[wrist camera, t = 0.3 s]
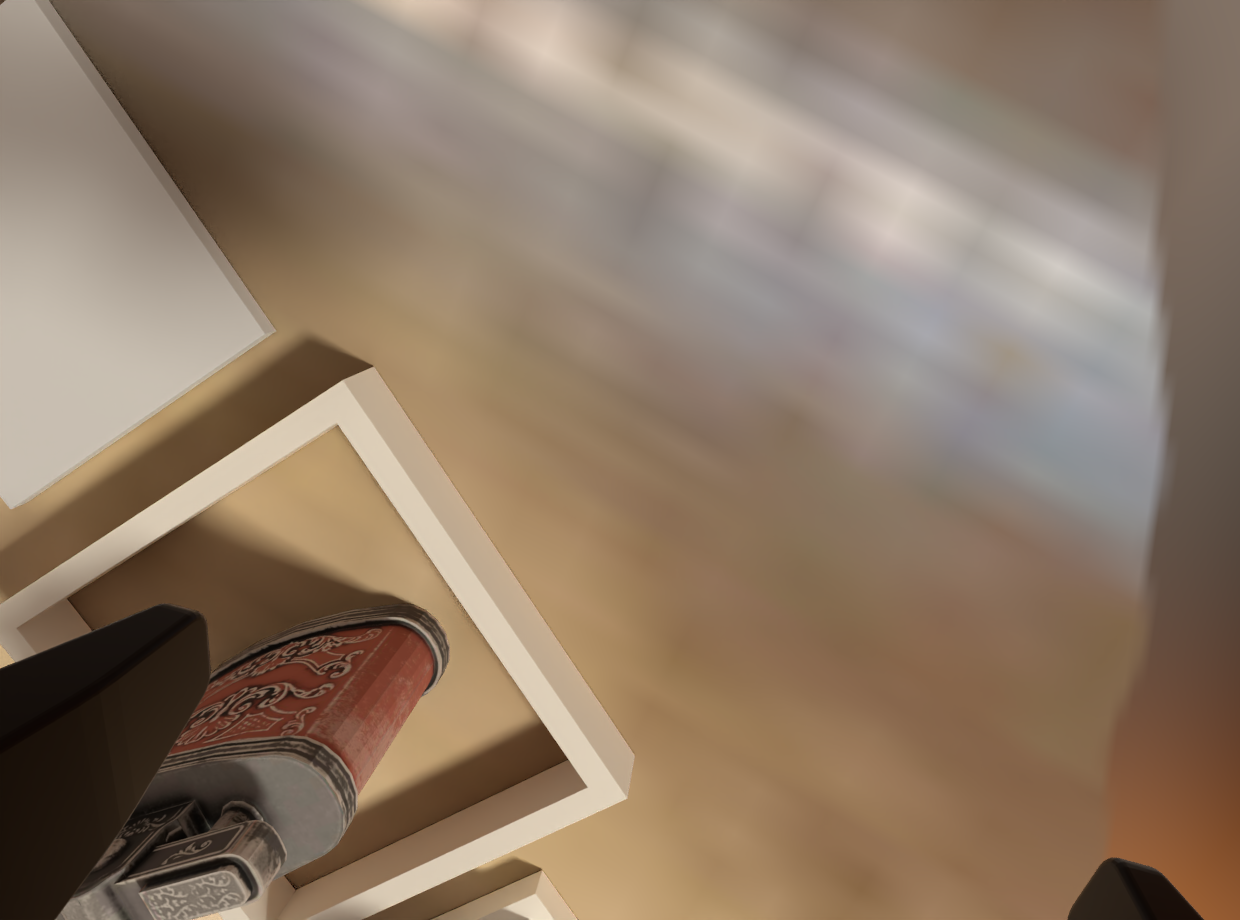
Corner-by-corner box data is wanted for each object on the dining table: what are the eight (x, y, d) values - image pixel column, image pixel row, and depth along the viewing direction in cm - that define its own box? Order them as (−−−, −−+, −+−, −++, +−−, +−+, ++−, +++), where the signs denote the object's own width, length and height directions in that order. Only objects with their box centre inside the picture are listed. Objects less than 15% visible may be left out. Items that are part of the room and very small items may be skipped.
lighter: (243, 750, 28) (-12, 1033, 18) (193, 658, 27) (-100, 903, 17) (468, 682, 26) (318, 954, 16) (422, 582, 25) (236, 807, 16)
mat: (26, 503, 26) (10, 509, 26) (-203, 207, 24) (-226, 207, 24) (276, 330, 24) (265, 333, 23) (41, -10, 22) (23, -17, 21)
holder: (428, 1090, 31) (379, 1233, 26) (32, 589, 27) (-100, 660, 23) (770, 957, 27) (778, 1096, 23) (373, 366, 24) (295, 400, 19)
